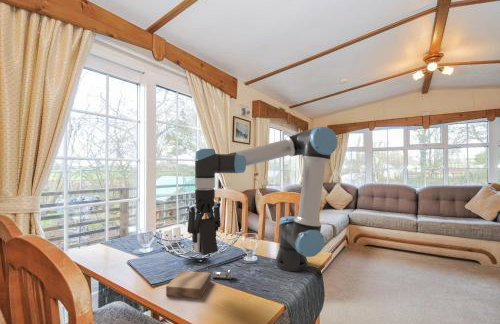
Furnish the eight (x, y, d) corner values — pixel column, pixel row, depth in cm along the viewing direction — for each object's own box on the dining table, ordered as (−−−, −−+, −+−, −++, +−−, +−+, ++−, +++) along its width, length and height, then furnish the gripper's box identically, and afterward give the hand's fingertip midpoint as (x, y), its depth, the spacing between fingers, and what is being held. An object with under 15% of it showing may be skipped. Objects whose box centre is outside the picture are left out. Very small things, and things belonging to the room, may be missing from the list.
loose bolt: (232, 276, 108) (232, 267, 108) (230, 280, 104) (230, 271, 104) (214, 275, 109) (214, 266, 109) (211, 279, 105) (211, 270, 105)
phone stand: (193, 248, 98) (193, 217, 98) (206, 245, 102) (207, 215, 101) (203, 255, 91) (203, 222, 91) (218, 251, 94) (218, 220, 94)
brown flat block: (210, 281, 104) (210, 272, 104) (200, 298, 91) (200, 288, 91) (180, 279, 106) (180, 270, 106) (166, 295, 93) (166, 286, 93)
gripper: (218, 186, 106) (218, 240, 106) (177, 189, 92) (176, 252, 92) (230, 187, 101) (230, 244, 101) (188, 191, 87) (187, 258, 87)
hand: (204, 248), depth 97 cm, fingers closed on phone stand, 6 cm apart
